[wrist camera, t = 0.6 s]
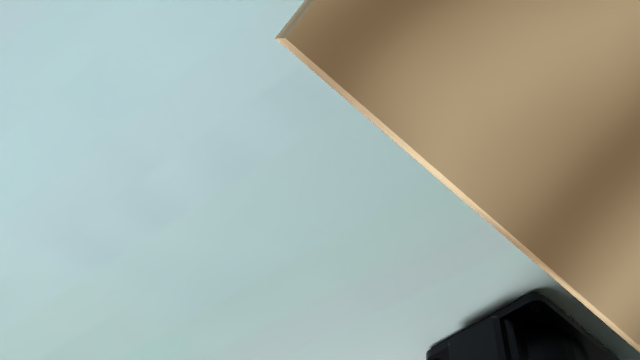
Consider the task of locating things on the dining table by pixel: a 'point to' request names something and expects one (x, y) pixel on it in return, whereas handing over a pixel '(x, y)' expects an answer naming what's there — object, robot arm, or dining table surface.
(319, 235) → the dining table surface
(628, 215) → the oak plank
